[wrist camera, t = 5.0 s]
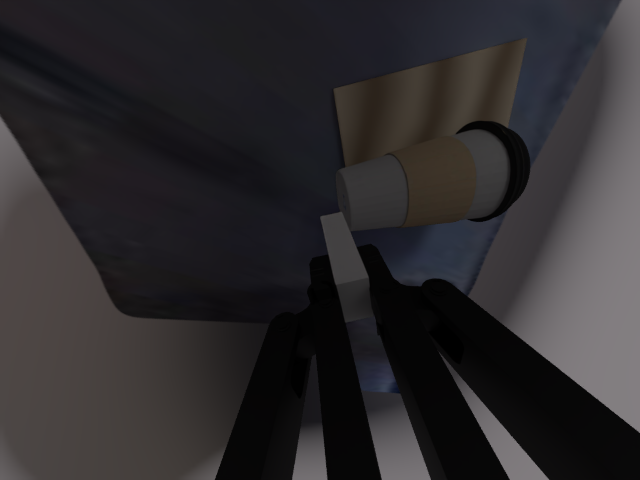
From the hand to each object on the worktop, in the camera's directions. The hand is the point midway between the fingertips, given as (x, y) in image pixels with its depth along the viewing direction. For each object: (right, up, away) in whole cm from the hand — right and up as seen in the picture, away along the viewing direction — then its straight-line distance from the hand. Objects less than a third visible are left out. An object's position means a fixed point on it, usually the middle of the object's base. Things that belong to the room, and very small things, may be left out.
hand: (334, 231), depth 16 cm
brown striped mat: (+11, +9, +10) cm, 17 cm away
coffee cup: (+1, +3, +6) cm, 7 cm away
